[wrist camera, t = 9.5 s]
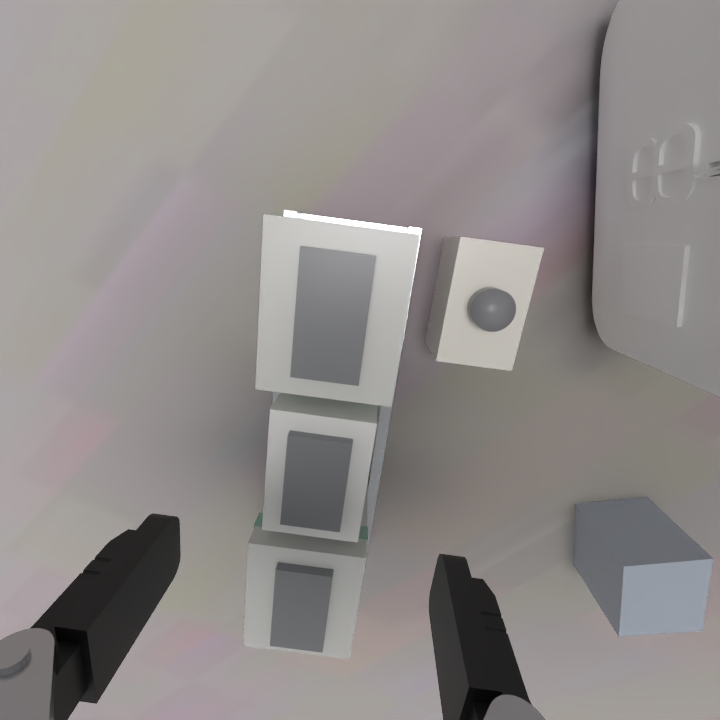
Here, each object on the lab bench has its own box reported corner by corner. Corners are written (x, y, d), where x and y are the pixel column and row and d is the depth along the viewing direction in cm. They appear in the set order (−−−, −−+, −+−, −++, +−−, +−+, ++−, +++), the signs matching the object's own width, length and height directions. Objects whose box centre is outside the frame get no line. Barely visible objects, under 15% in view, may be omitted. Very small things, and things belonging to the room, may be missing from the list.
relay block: (646, 496, 24) (713, 558, 19) (640, 558, 25) (702, 630, 21) (574, 503, 24) (623, 566, 20) (573, 564, 26) (618, 637, 21)
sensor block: (511, 246, 20) (555, 248, 15) (487, 348, 22) (519, 378, 17) (443, 237, 20) (466, 236, 15) (424, 340, 21) (439, 367, 17)
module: (375, 365, 21) (377, 429, 14) (362, 452, 22) (357, 550, 15) (303, 355, 21) (267, 413, 14) (295, 443, 22) (259, 536, 15)
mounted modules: (404, 237, 19) (423, 233, 12) (356, 545, 24) (349, 669, 17) (302, 223, 19) (258, 211, 12) (278, 535, 24) (239, 655, 17)
